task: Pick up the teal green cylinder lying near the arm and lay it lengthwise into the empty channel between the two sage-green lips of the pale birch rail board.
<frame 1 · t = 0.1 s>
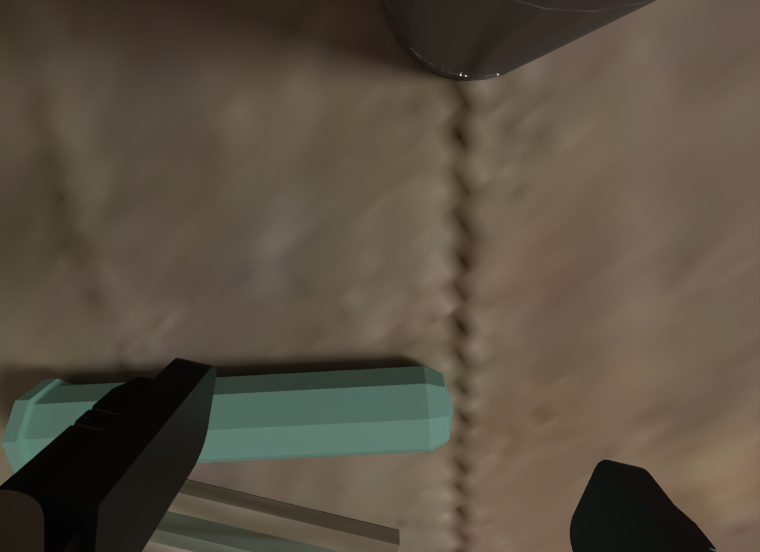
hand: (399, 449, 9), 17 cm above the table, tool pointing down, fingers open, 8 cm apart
teal green cylinder: (258, 393, 29), on the table
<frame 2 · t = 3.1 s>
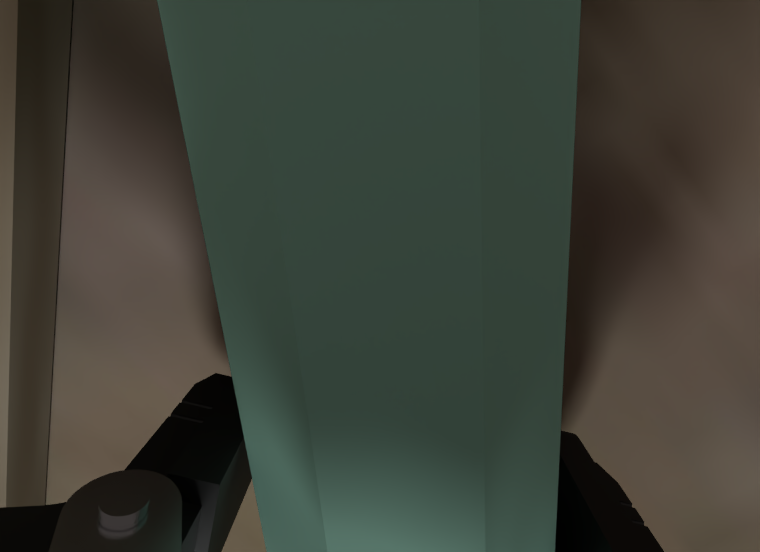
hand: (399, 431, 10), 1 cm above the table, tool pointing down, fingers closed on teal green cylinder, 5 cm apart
teal green cylinder: (399, 406, 11), on the table, touching gripper
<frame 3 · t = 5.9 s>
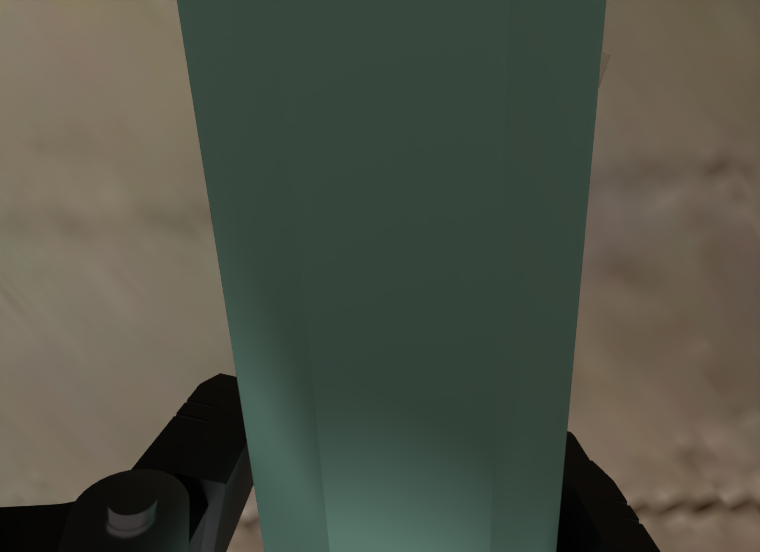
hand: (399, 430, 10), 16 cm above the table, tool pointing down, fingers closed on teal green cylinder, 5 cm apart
teal green cylinder: (399, 407, 11), point 15 cm above the table, touching gripper
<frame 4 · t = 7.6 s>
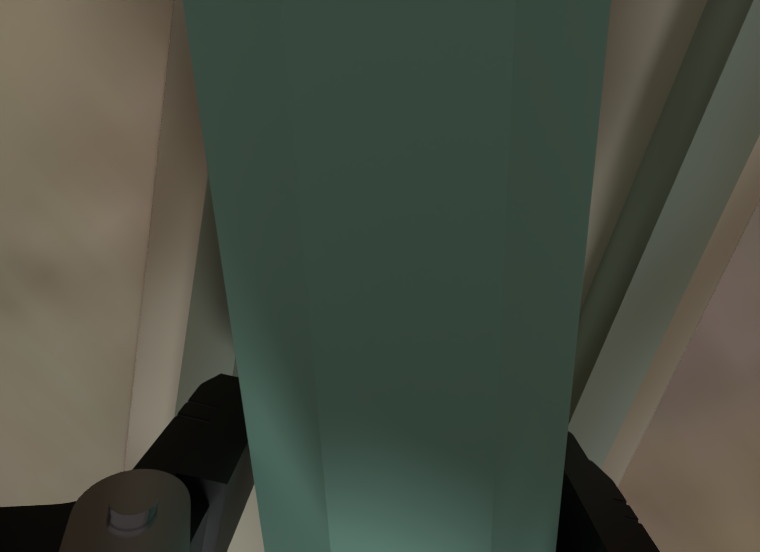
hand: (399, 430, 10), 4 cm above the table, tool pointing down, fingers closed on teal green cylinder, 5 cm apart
rail: (399, 352, 13), on the table
teal green cylinder: (398, 408, 11), point 3 cm above the table, touching gripper
when the fingers open (3 cm above the table, at t = 8.5 s): teal green cylinder stays where it is, resting on rail.
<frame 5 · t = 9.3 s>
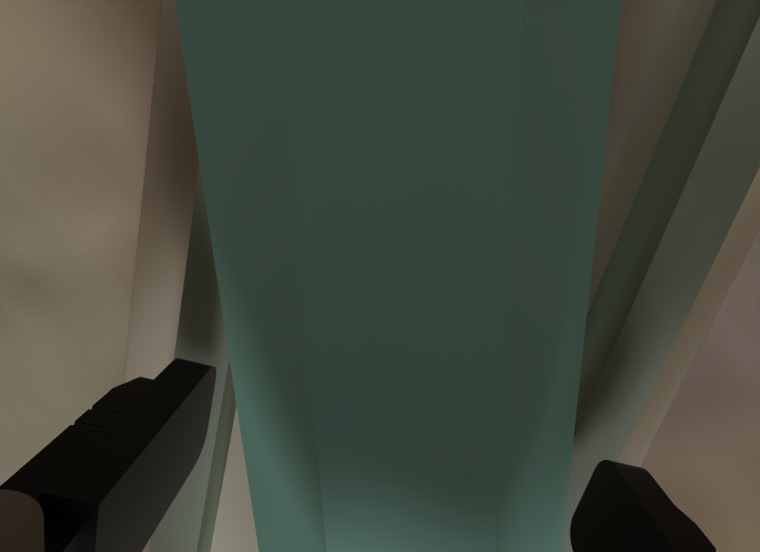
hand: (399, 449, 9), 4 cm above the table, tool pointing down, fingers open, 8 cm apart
rail: (397, 362, 13), on the table
teal green cylinder: (399, 416, 10), point 3 cm above the table, touching rail
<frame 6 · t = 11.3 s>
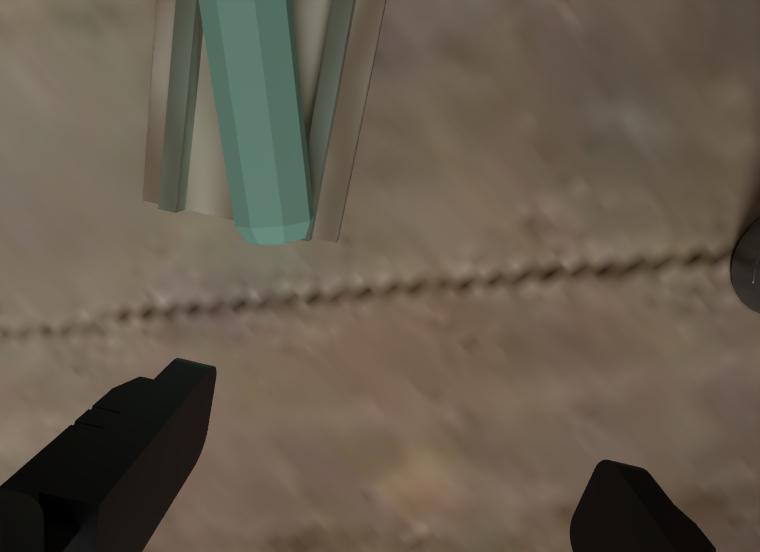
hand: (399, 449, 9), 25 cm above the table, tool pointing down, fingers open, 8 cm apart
rail: (270, 45, 30), on the table
teal green cylinder: (260, 38, 27), point 3 cm above the table, touching rail
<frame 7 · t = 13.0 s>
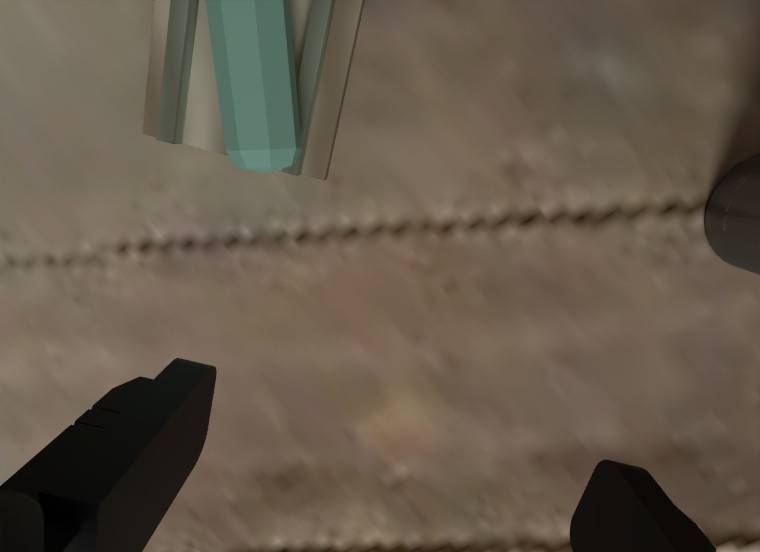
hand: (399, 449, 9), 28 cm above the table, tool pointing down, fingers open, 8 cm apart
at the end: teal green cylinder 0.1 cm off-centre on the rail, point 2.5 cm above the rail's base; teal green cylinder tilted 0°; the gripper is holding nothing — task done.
